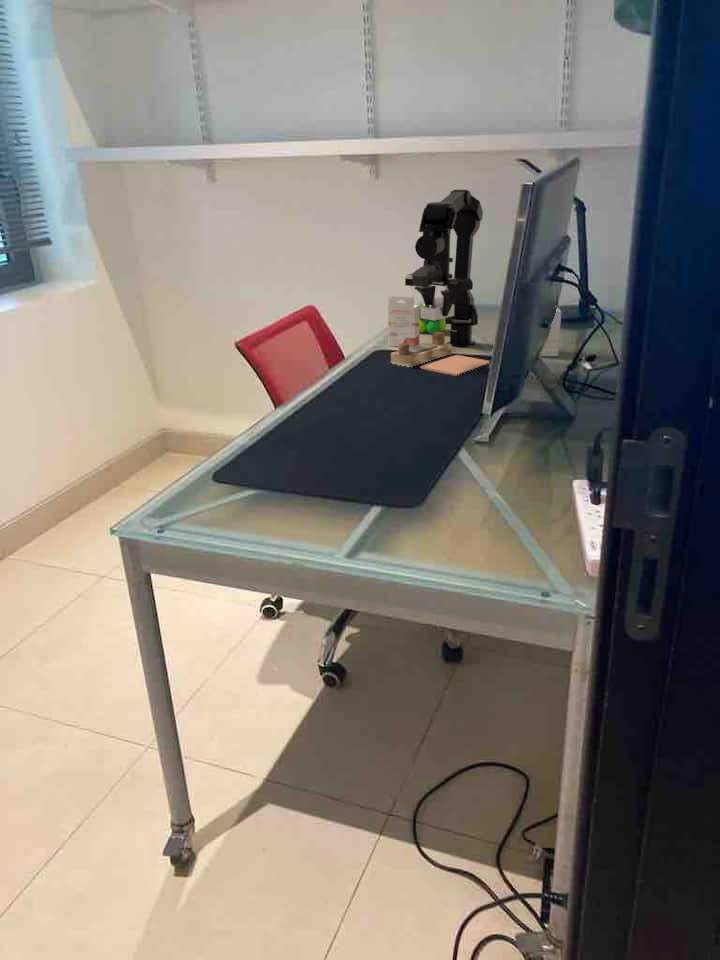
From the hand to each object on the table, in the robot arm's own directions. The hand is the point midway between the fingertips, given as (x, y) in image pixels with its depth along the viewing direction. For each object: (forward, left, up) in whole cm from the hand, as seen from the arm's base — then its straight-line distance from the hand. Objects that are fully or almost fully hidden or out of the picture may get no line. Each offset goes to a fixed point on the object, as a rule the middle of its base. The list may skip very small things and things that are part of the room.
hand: (437, 315), depth 203 cm
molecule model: (-30, -26, -13) cm, 42 cm away
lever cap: (0, 0, 0) cm, 0 cm away
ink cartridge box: (-11, -21, -13) cm, 27 cm away
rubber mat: (-1, +6, -13) cm, 14 cm away
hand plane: (-1, -6, -13) cm, 14 cm away
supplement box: (-27, +17, -13) cm, 34 cm away
